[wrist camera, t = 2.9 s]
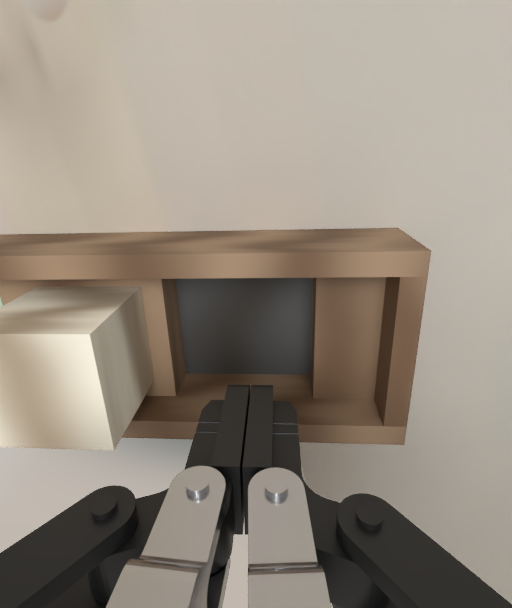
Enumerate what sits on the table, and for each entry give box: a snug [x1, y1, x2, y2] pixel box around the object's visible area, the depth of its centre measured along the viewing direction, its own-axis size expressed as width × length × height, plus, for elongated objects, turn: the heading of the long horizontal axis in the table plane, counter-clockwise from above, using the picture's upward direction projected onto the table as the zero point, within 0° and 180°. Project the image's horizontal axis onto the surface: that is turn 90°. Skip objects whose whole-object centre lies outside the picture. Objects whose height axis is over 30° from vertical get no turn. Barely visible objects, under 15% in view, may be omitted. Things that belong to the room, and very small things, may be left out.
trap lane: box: [0, 228, 431, 445], centre depth 19 cm, size 36×9×4 cm, turn 91°
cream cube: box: [0, 286, 155, 450], centre depth 17 cm, size 5×5×5 cm
